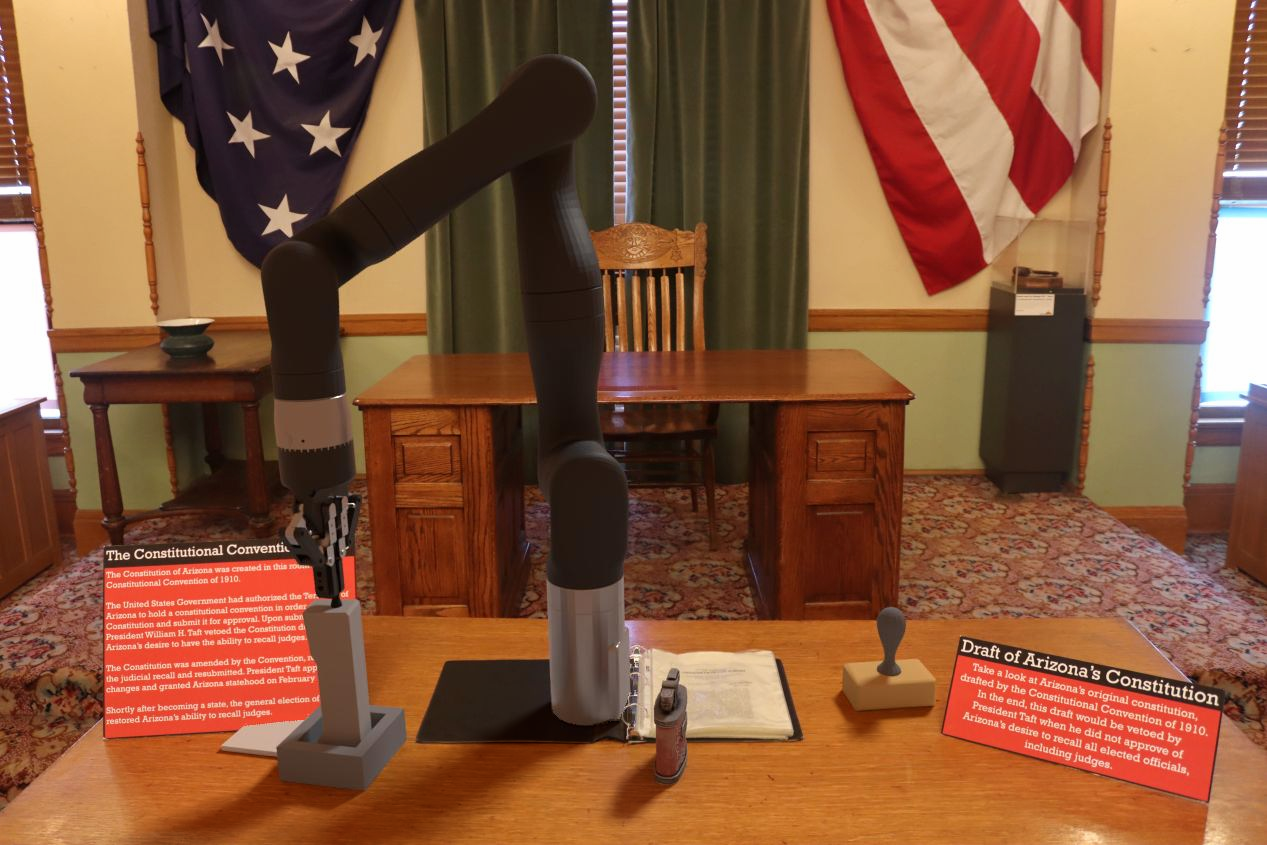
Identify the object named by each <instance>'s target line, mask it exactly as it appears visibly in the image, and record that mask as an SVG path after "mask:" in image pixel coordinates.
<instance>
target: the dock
mask: <svg viewBox="0 0 1267 845" xmlns="http://www.w3.org/2000/svg"><path fill="white" fill-rule="evenodd" d="M369 706H370V717H371V727H372V730H371V731H370V732H369V733H368V735H367V736H366V737H365V738H364V739H363V740H362V741H361V742H360V743H359V745H358V746H357V747H356V748H354V747H345V746H337V745H328V744H319V743H317V742H318V740H319V738H320V735H321V733H322V731H323V720H322V711H321V704H320V705H319V706H317V708H316V709H314V710H313V711H312V713H310V714H309V715H310V716H308V717H307V718H306V719H305V720H304V721H303V722H302V723H301V724H300V725H299V726H298V727H297V728H296V729H295V730H294V731H293V732H292V733H291V734H290V735H289V736H287V737H286V738H285V739H284V740H283V741H282V742H281V743H280V744H279V745H278V746H277V747H276V750H277V757H276V758H277V766H278V775H279V781H281V782H288V783H295V784H296V783H297V784H304V785H305V784H306V785H314V786H321V787H322V786H323V787H328V788H330V787H331V788H339V789H347V790H352V791H353V790H354V791H365V792H366V790H367V789H368V788H369V786H370V785H371V784H372V782H373V781H374V780H375V779H376V778H377V776H378V775H379V774H380V773H381V772H382V771H383V769H384V768H385V767H386V766H387V765H388V763H389V762H390V760H391V759H393V757H394V756H395V755H396V754H397V752H398V751H399V750H400V748H402V746H403V745H404V743H406V741H407V738H408V737H407V726H406V715H405V714H406V712H405V708H404V707H395V706H394V707H393V706H385V705H377V704H376V705H374V704H369Z"/></svg>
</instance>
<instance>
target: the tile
mask: <svg viewBox="0 0 1267 845" xmlns="http://www.w3.org/2000/svg"><path fill="white" fill-rule="evenodd" d="M303 721H304V720H297V721H296V720H295V721H290V722H289V721H285V722H284V721H283V722H276V723H275V722H274V723H267V724H266V723H265V724H260V725H259V724H258V725H257V724H256V725H249V726H248V725H247V726H244V725H243V726H242V727H241V728H240V729H239V730H237V731H236V732H235V733H234V734H233V735H232V736H230V737H229V738H227V740H226V741H225V742H224V743H222V744H221V745H220V748H221V749H220V750H221V751H223V752H231V753H232V752H233V753H241V754H248V755H249V754H250V755H257V756H266V757H276V758H277V750H276V747H277V746H278V745H279V744H280V743H281V742H282V741H283V740H284V739H285V738H286V737H287V736H289V735H290V734H291V733H292V732H293V731H294V730H295V729H296V728H297V727H298V726H299V725H300V724H301V723H302V722H303Z"/></svg>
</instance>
